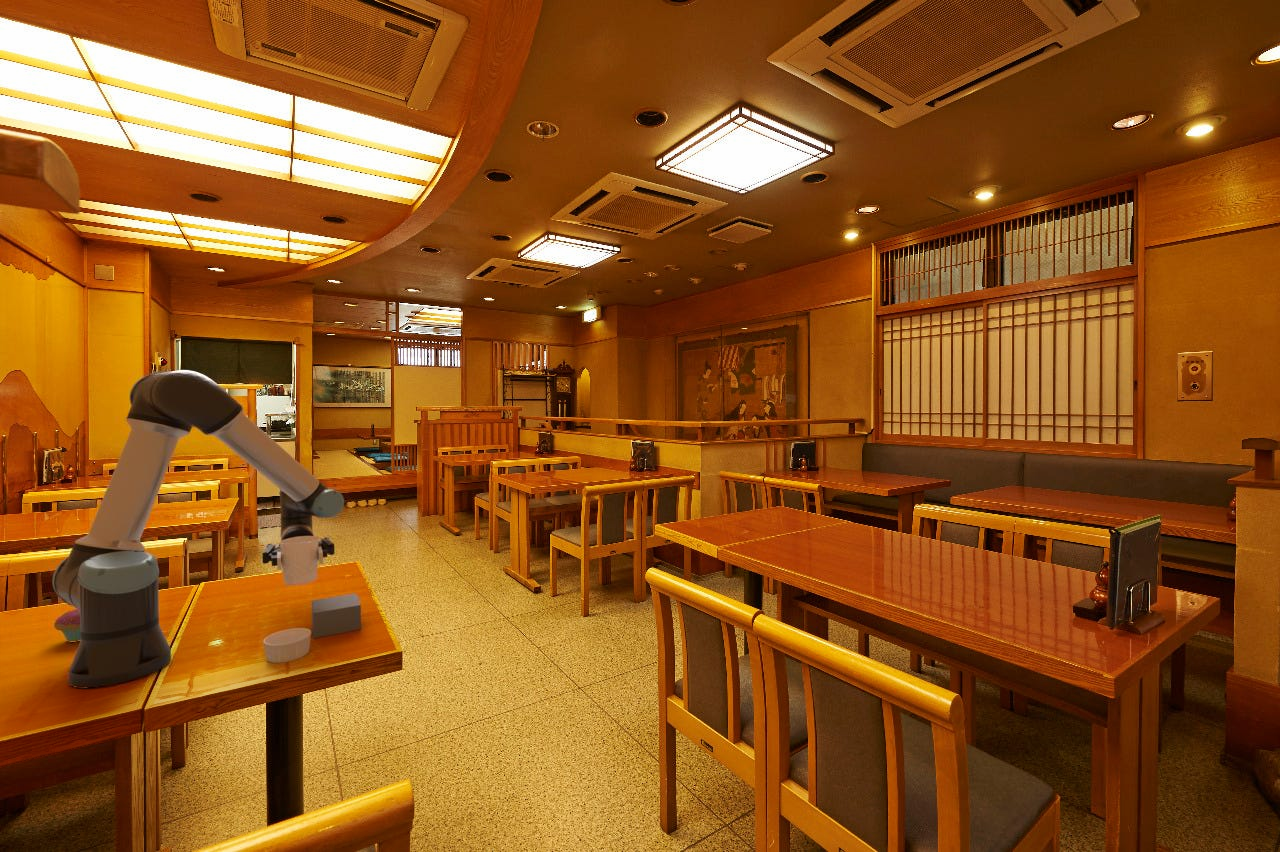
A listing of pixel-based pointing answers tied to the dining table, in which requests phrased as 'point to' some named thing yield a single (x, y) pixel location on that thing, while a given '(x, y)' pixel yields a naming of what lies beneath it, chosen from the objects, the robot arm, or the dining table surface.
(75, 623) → the cupcake
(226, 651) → the dining table surface
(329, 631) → the gray rectangular block
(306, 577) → the white cup
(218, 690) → the dining table surface
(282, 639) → the ramekin
